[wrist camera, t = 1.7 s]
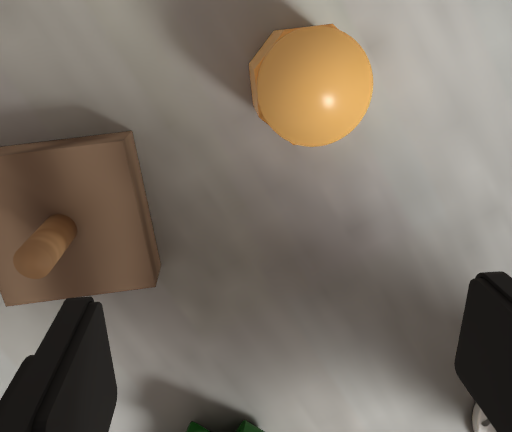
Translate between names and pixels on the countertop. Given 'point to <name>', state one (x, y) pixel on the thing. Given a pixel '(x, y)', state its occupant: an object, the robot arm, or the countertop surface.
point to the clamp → (244, 430)
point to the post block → (74, 220)
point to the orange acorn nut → (311, 84)
